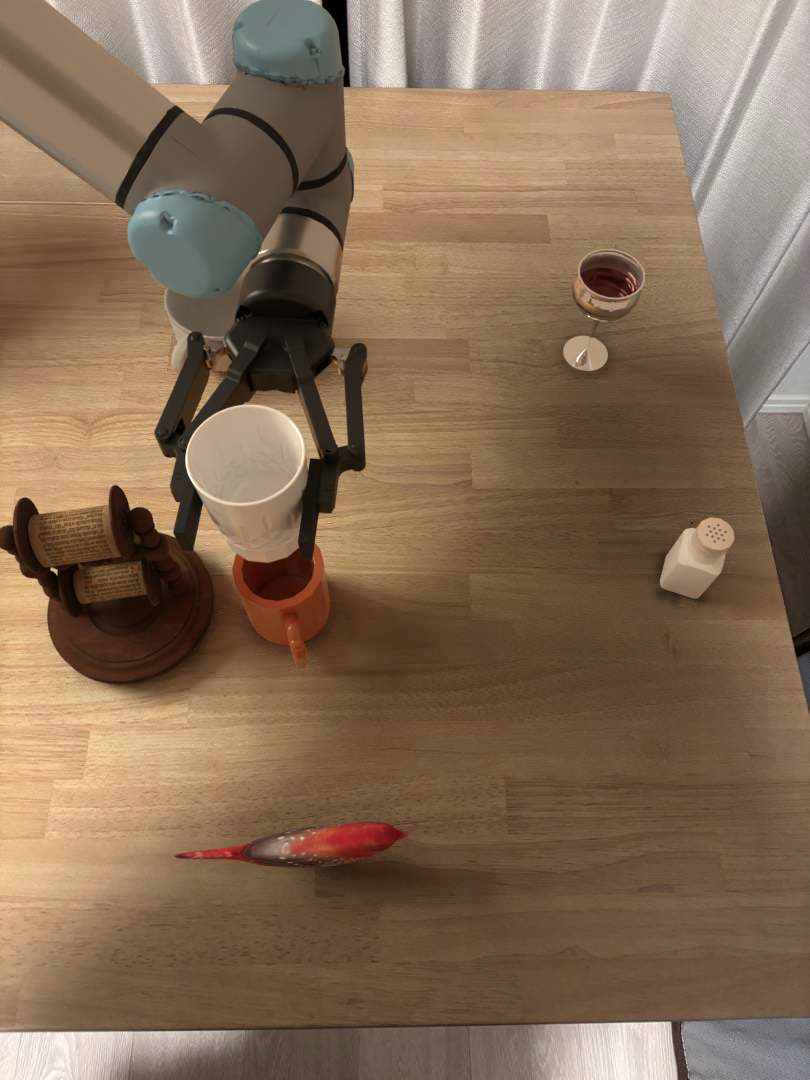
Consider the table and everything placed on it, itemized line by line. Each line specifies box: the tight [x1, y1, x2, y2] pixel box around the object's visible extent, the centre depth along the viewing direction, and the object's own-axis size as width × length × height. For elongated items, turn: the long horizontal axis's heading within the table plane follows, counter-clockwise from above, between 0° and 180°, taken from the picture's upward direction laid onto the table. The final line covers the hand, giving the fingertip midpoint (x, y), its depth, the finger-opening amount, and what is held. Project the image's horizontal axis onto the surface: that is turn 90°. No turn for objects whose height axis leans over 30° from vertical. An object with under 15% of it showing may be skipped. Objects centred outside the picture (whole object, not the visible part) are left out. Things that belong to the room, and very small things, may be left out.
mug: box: [231, 542, 331, 669], centre depth 73 cm, size 11×8×9 cm
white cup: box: [186, 404, 309, 563], centre depth 59 cm, size 8×8×10 cm
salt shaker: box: [659, 517, 735, 600], centre depth 75 cm, size 4×4×10 cm
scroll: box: [0, 484, 216, 686], centre depth 68 cm, size 15×15×20 cm
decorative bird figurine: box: [174, 821, 410, 869], centre depth 63 cm, size 3×18×10 cm, turn 95°
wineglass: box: [562, 248, 646, 372], centre depth 86 cm, size 7×7×12 cm
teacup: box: [163, 270, 245, 375], centre depth 87 cm, size 14×11×8 cm
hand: (244, 546), depth 56 cm, fingers closed on white cup, 8 cm apart
